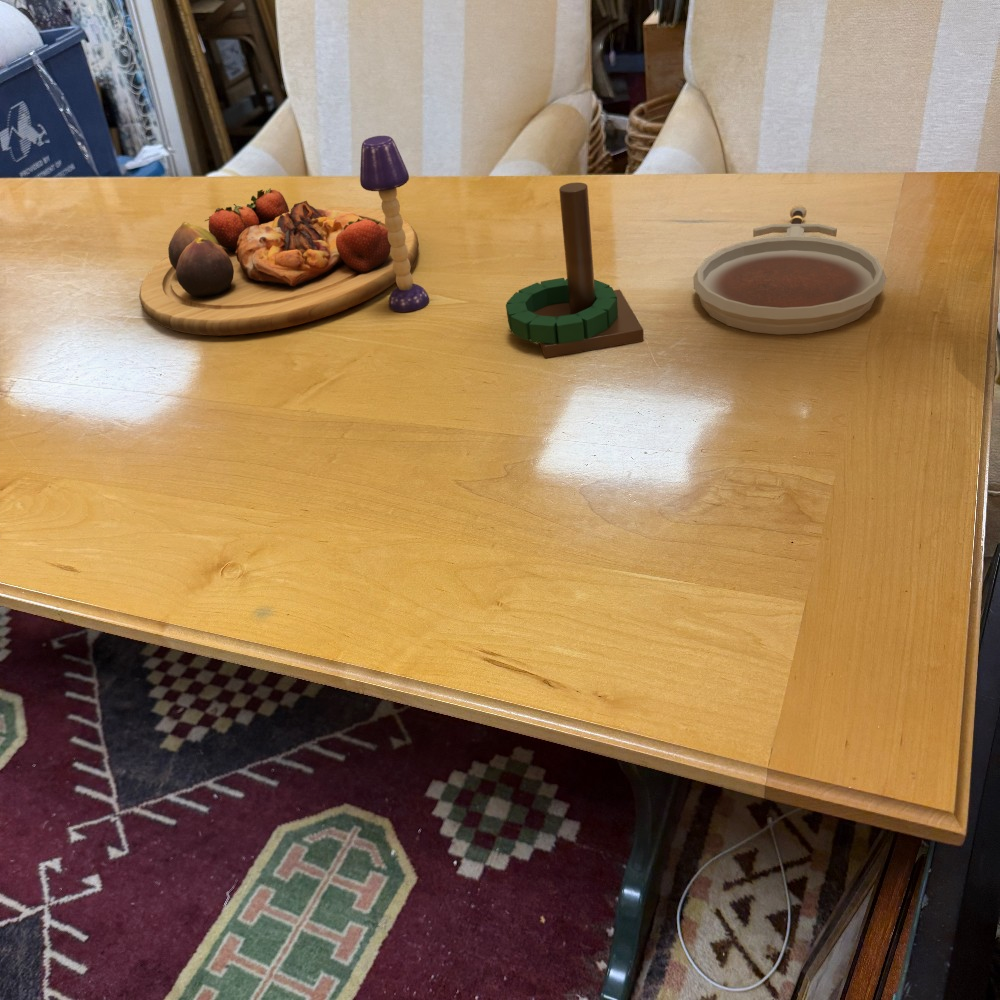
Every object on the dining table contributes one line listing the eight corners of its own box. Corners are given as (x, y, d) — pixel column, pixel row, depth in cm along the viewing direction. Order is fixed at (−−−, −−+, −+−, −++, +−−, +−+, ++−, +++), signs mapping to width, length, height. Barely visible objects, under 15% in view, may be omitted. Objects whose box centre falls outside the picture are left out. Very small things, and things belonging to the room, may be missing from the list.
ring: (604, 288, 88) (603, 270, 87) (627, 332, 80) (626, 314, 79) (503, 304, 88) (501, 287, 87) (516, 351, 80) (513, 333, 79)
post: (620, 300, 89) (613, 163, 81) (643, 341, 81) (638, 194, 73) (529, 316, 88) (513, 180, 80) (545, 358, 81) (529, 213, 73)
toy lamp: (441, 301, 94) (411, 134, 84) (407, 319, 91) (372, 149, 81) (411, 291, 97) (379, 129, 87) (378, 308, 94) (340, 143, 84)
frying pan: (884, 195, 95) (889, 309, 74) (881, 222, 97) (885, 342, 76) (718, 198, 100) (679, 305, 79) (718, 224, 102) (679, 336, 81)
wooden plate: (478, 248, 104) (467, 176, 99) (251, 369, 87) (225, 288, 82) (307, 210, 123) (291, 148, 118) (93, 303, 106) (64, 234, 101)
